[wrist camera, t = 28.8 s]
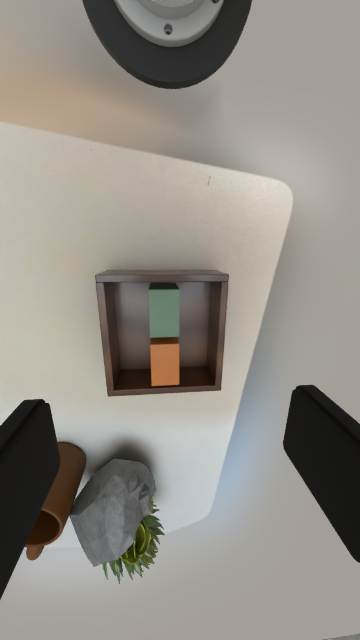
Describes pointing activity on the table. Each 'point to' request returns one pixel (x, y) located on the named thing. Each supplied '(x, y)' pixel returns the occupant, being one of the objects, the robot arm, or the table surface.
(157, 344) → the packet orange
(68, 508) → the mug
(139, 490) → the potted plant
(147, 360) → the holder
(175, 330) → the packet green
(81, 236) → the table surface
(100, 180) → the table surface
